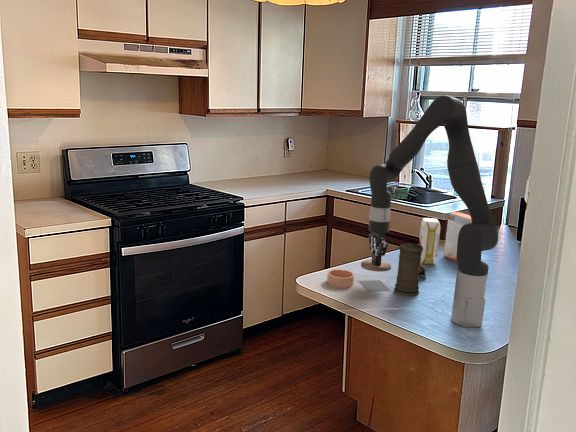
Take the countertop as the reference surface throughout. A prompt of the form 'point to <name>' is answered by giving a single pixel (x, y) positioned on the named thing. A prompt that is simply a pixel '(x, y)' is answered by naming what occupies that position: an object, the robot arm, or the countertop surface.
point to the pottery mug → (422, 271)
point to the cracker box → (454, 233)
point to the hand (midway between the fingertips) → (376, 263)
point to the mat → (374, 285)
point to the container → (408, 269)
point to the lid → (372, 267)
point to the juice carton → (429, 240)
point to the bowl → (340, 278)
